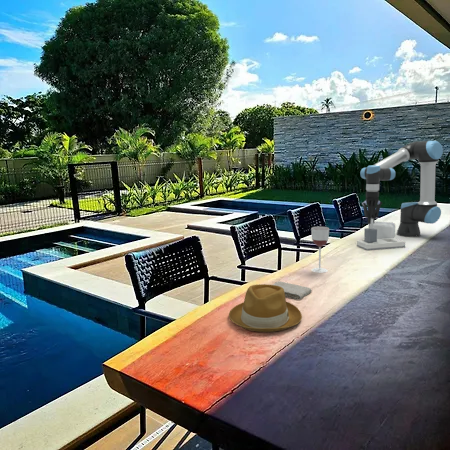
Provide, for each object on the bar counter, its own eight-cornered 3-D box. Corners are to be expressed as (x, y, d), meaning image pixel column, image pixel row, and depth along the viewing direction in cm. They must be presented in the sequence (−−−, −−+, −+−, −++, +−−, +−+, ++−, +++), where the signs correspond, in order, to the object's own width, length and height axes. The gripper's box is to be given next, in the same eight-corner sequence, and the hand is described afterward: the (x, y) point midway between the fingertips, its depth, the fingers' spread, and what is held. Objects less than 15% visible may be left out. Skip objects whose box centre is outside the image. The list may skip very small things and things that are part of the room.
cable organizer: (396, 239, 268) (396, 222, 266) (392, 242, 260) (393, 225, 258) (373, 237, 277) (373, 220, 275) (368, 240, 269) (369, 223, 267)
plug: (371, 244, 253) (371, 227, 251) (376, 246, 247) (377, 229, 245) (364, 244, 252) (364, 228, 250) (369, 246, 246) (369, 230, 244)
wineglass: (329, 268, 208) (329, 226, 204) (327, 273, 199) (328, 230, 195) (312, 267, 211) (312, 226, 207) (309, 272, 202) (310, 229, 198)
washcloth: (276, 285, 185) (276, 279, 184) (312, 293, 174) (312, 286, 173) (263, 293, 175) (263, 286, 175) (300, 301, 165) (300, 294, 164)
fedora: (217, 329, 140) (216, 298, 138) (243, 300, 166) (242, 273, 164) (293, 340, 130) (293, 306, 128) (307, 308, 157) (308, 279, 155)
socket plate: (393, 243, 258) (393, 236, 257) (405, 247, 247) (405, 240, 246) (356, 246, 253) (356, 239, 253) (366, 250, 242) (367, 243, 241)
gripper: (378, 189, 248) (376, 227, 252) (359, 190, 246) (358, 228, 250) (385, 191, 241) (383, 229, 245) (365, 191, 239) (364, 230, 243)
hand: (370, 228), depth 248 cm, fingers closed
